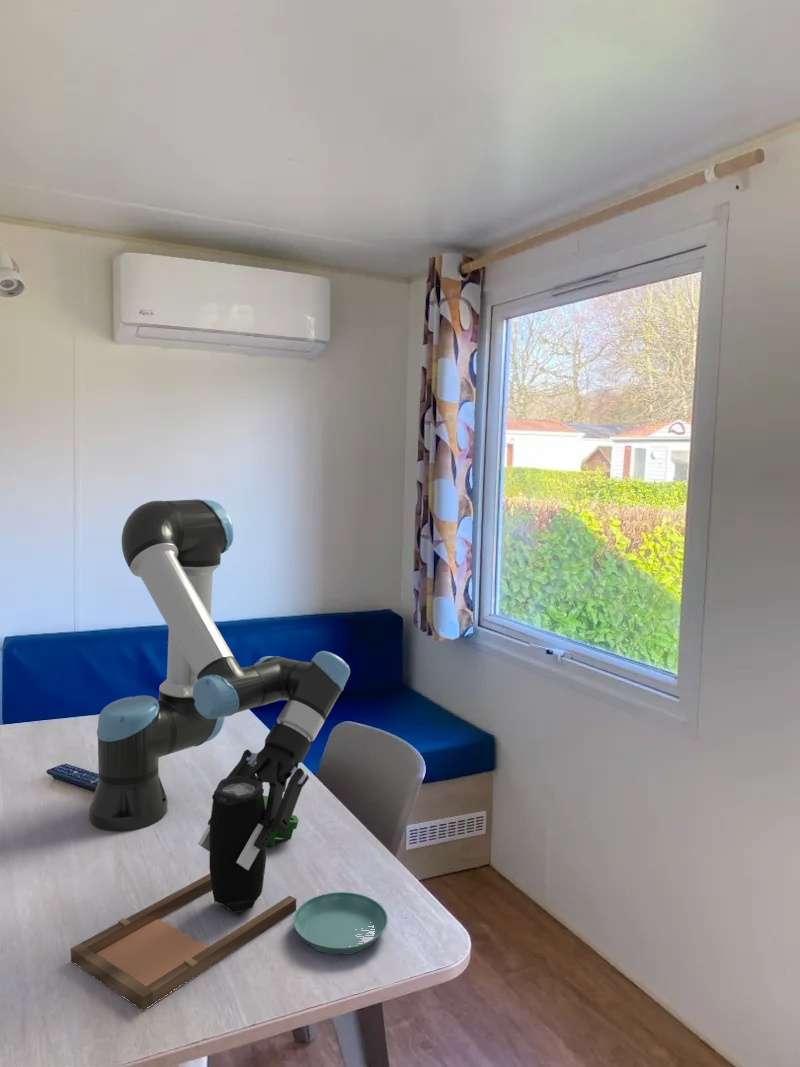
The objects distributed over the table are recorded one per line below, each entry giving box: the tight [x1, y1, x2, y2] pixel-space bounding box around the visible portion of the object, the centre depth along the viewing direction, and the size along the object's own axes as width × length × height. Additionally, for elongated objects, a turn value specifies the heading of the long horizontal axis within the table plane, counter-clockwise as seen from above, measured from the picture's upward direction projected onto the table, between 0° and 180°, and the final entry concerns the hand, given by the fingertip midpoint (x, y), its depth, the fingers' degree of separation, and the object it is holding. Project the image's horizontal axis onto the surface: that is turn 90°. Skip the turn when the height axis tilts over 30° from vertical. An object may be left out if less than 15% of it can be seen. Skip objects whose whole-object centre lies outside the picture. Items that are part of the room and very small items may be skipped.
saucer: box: [293, 891, 389, 955], centre depth 121 cm, size 15×15×3 cm
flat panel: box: [96, 918, 209, 987], centre depth 115 cm, size 14×11×1 cm
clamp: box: [263, 795, 299, 847], centre depth 152 cm, size 12×6×9 cm, turn 13°
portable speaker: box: [209, 776, 267, 913], centre depth 126 cm, size 9×9×20 cm
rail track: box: [70, 873, 297, 1012], centre depth 120 cm, size 17×30×2 cm, turn 145°
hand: (222, 856), depth 124 cm, fingers closed on portable speaker, 8 cm apart
